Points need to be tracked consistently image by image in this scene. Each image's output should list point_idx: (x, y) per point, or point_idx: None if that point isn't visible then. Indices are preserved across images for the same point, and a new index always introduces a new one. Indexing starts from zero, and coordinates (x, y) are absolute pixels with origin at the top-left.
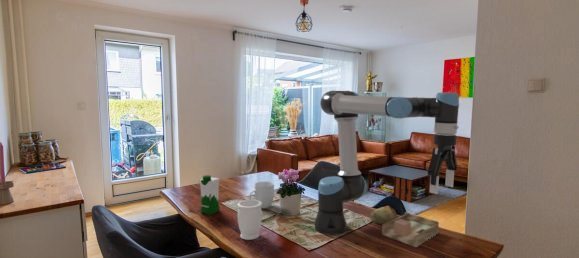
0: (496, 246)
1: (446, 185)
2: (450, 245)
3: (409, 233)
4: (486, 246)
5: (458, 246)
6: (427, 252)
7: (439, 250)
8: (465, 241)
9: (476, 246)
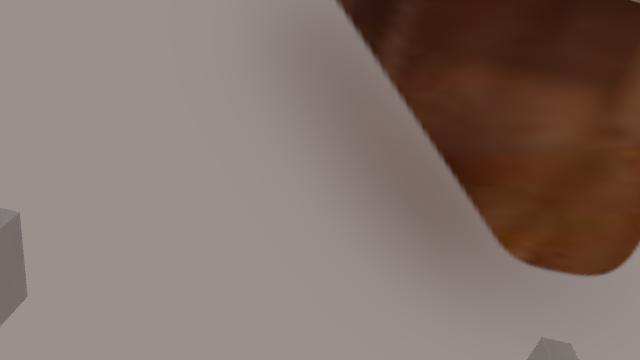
0: (587, 271)
1: (533, 357)
2: (498, 96)
3: None
4: (568, 238)
5: (505, 132)
6: (338, 3)
7: (400, 55)
8: (592, 156)
9: (547, 202)
